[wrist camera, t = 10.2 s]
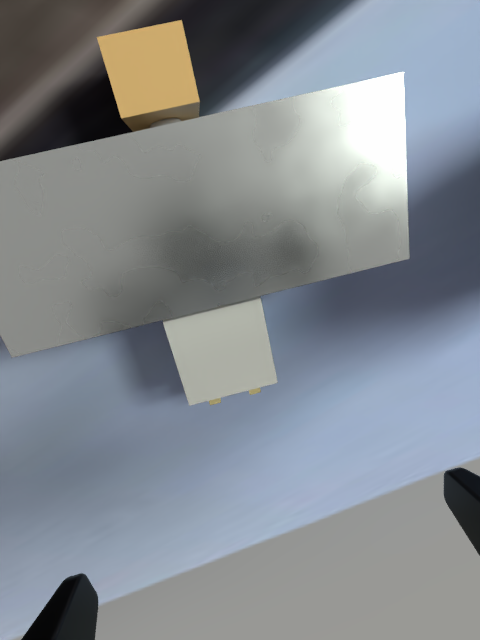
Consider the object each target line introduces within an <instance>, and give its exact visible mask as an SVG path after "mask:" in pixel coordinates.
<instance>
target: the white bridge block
mask: <svg viewBox="0 0 480 640" xmlns="http://www.w3.org/2000/svg"><path fill="white" fill-rule="evenodd" d="M407 259H410V258H409V227H408V197H407V166H406V136H405V105H404V75H403V72H402V73H397V74H393V75H388V76H383V77H379V78H374V79H370V80H365V81H361V82H356V83H352V84H347V85H343V86H338V87H334V88H329V89H325V90H320V91H316V92H311V93H307V94H302V95H298V96H293V97H289V98H284V99H280V100H275V101H271V102H266V103H262V104H257V105H253V106H248V107H244V108H239V109H235V110H230V111H226V112H221V113H217V114H212V115H208V116H203V117H199V118H194V119H190V120H185V121H181V122H176V123H172V124H167V125H163V126H158V127H154V128H149V129H144V130H140V131H135V132H131V133H126V134H122V135H117V136H113V137H108V138H104V139H99V140H95V141H90V142H86V143H81V144H77V145H72V146H68V147H63V148H59V149H54V150H50V151H45V152H41V153H36V154H32V155H27V156H23V157H18V158H14V159H9V160H5V161H0V336H1V338H2V339H3V341H4V343H5V345H6V347H7V349H8V351H9V353H10V355H11V357H12V358H13V357H17V356H21V355H25V354H29V353H33V352H37V351H41V350H45V349H49V348H53V347H57V346H61V345H65V344H69V343H73V342H77V341H81V340H85V339H89V338H93V337H97V336H101V335H105V334H109V333H113V332H117V331H121V330H125V329H129V328H133V327H137V326H141V325H145V324H149V323H153V322H157V321H162V320H166V319H170V318H174V317H178V316H182V315H186V314H190V313H194V312H198V311H202V310H206V309H210V308H214V307H218V306H222V305H226V304H230V303H234V302H238V301H242V300H246V299H250V298H254V297H258V296H262V295H266V294H270V293H274V292H278V291H282V290H286V289H290V288H294V287H298V286H302V285H306V284H310V283H314V282H318V281H322V280H326V279H330V278H334V277H338V276H342V275H346V274H350V273H354V272H358V271H362V270H366V269H370V268H374V267H378V266H382V265H386V264H390V263H395V262H399V261H403V260H407Z"/></svg>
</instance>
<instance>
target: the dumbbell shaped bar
mask: <svg viewBox="0 0 480 640" xmlns="http://www.w3.org/2000/svg"><path fill="white" fill-rule="evenodd" d="M97 39H98V42H99V46H100V49H101V52H102V56H103V59H104V62H105V66H106V69H107V72H108V76H109V79H110V82H111V86H112V89H113V93H114V96H115V99H116V103H117V106H118V109H119V113H120V116H121V119H122V120H123V121H124V122H125V123H126V124H127V126H128V127H129V128H130V129H131V130H132V131H133V132H135V131H140V130H144V129H149V128H154V127H158V126H163V125H167V124H172V123H176V122H181V121H185V120H190V119H194V118H199V103H200V101H199V97H198V92H197V88H196V83H195V79H194V74H193V69H192V65H191V60H190V56H189V51H188V47H187V42H186V38H185V33H184V29H183V24H182V20H180V21H175V22H170V23H165V24H160V25H155V26H150V27H145V28H140V29H135V30H131V31H126V32H121V33H116V34H111V35H106V36H101V37H97ZM163 325H164V328H165V331H166V334H167V337H168V341H169V344H170V347H171V350H172V353H173V356H174V359H175V362H176V365H177V369H178V372H179V375H180V378H181V381H182V384H183V387H184V390H185V394H186V397H187V400H188V403H189V406H190V405H194V404H198V403H202V402H206V401H209V403H210V405H213V404H217V403H221V397H225V396H229V395H233V394H237V393H241V392H244V391H248V390H249V393H250V395H251V394H255V393H259V392H261V391H260V387H264V386H268V385H271V384H275V383H278V382H277V377H276V372H275V367H274V362H273V357H272V352H271V347H270V342H269V337H268V332H267V327H266V322H265V317H264V312H263V307H262V302H261V298H260V296H258V297H254V298H250V299H246V300H242V301H238V302H234V303H230V304H226V305H222V306H218V307H214V308H210V309H206V310H202V311H198V312H194V313H190V314H186V315H182V316H178V317H174V318H170V319H166V320H163Z"/></svg>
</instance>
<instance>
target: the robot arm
mask: <svg viewBox="0 0 480 640" xmlns="http://www.w3.org/2000/svg"><path fill="white" fill-rule="evenodd" d="M444 498H445V501H446V503H447V505H448V507H449V508H450V510H451V511H452V513H453V514H454V516H455V518H456V519H457V520H458V522H459V524H460V525H461V527H462V529H463V530H464V532H465V533H466V535H467V536H468V538H469V540H470V541H471V543H472V544H473V546H474V548H475V549H476V551H477V552H478V554H479V555H480V476H478V475H476V474H474V473H472V472H470V471H468V470H466V469H464V468H455V469H451V470H448V471H446V472H445V473H444ZM97 612H98V596H97V593H96V591H95V589H94V588H93V586H92V584H91V583H90V581H89V579H88V578H87V576H86V575H85V574H83V573H81V574H77V575H74V576H70V577H68V578H66V579H65V580H64V581H63V582H62V583H61V585H60V586H59V588H58V589H57V590H56V592H55V593H54V595H53V596H52V597H51V599H50V600H49V602H48V603H47V604H46V606H45V607H44V609H43V610H42V611H41V613H40V614H39V616H38V617H37V618H36V620H35V621H34V623H33V624H32V625H31V627H30V628H29V630H28V631H27V632H26V634H25V635H24V637H23V638H22V639H21V640H95V632H96V631H95V630H96V622H97Z"/></svg>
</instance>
